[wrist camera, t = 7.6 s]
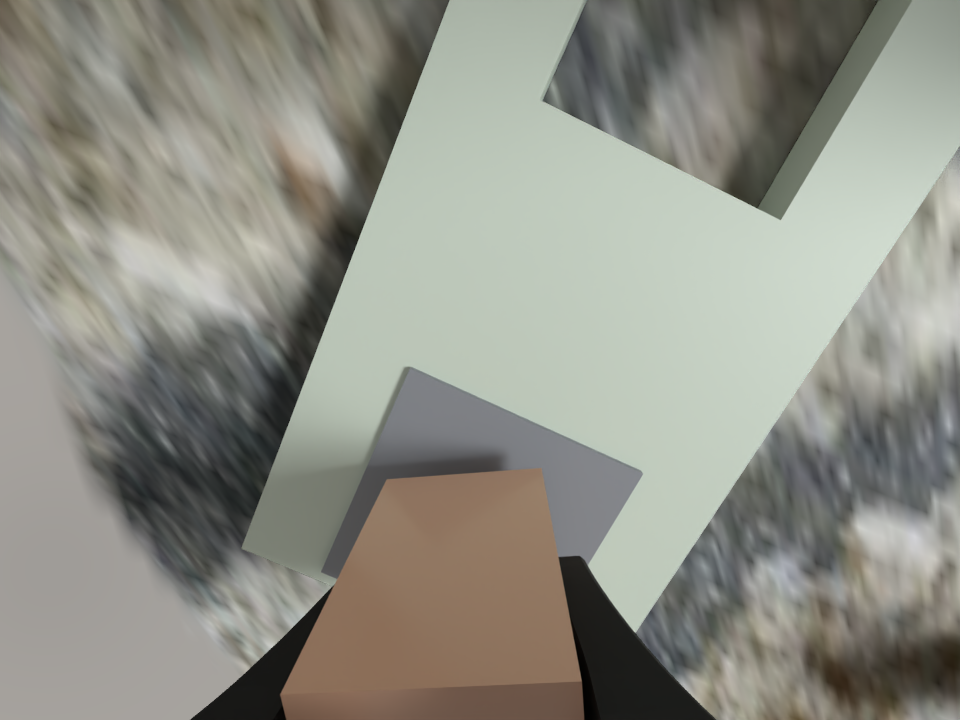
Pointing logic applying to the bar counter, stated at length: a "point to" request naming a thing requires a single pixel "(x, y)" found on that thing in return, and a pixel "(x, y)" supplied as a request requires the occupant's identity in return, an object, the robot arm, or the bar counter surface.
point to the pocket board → (595, 296)
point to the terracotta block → (445, 610)
